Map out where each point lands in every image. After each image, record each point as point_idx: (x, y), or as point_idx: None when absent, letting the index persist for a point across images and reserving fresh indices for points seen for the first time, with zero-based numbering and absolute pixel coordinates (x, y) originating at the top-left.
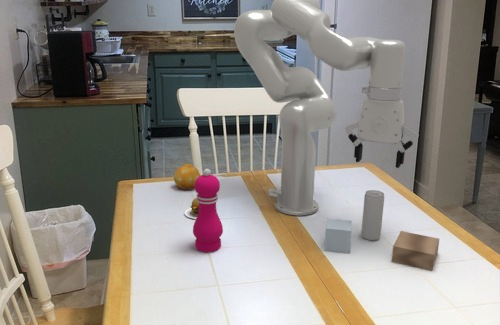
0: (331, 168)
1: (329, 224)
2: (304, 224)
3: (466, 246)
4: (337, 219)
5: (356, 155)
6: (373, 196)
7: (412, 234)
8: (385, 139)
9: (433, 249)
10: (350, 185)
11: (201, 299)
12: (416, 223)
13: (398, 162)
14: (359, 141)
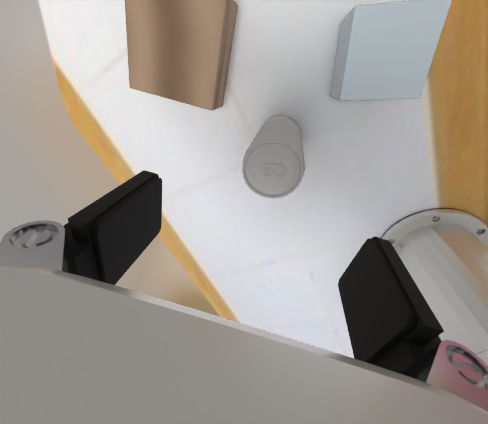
0: None
1: (426, 42)
2: (430, 169)
3: (111, 135)
4: (385, 97)
5: (404, 267)
6: (278, 141)
7: (185, 95)
8: (93, 348)
9: (130, 7)
10: (300, 327)
11: None
12: (196, 211)
13: (127, 182)
14: (449, 391)
